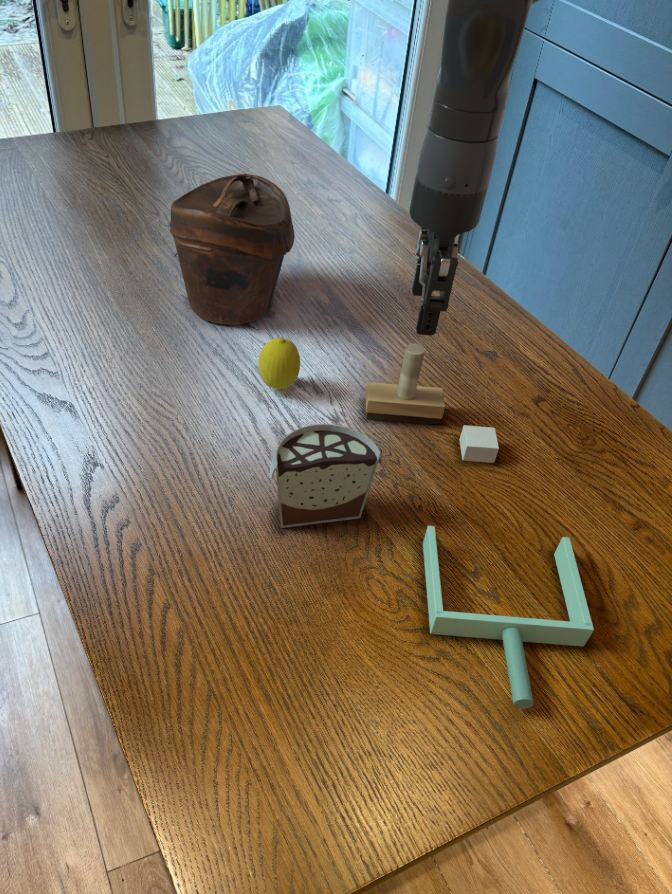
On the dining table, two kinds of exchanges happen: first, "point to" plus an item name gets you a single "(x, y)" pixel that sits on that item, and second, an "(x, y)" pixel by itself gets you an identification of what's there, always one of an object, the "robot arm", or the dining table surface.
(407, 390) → the brush
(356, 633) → the dining table surface
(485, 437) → the white square block
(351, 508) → the cupcake
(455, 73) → the robot arm
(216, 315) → the case
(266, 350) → the lemon
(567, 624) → the goalpost shaped holder
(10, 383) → the dining table surface
